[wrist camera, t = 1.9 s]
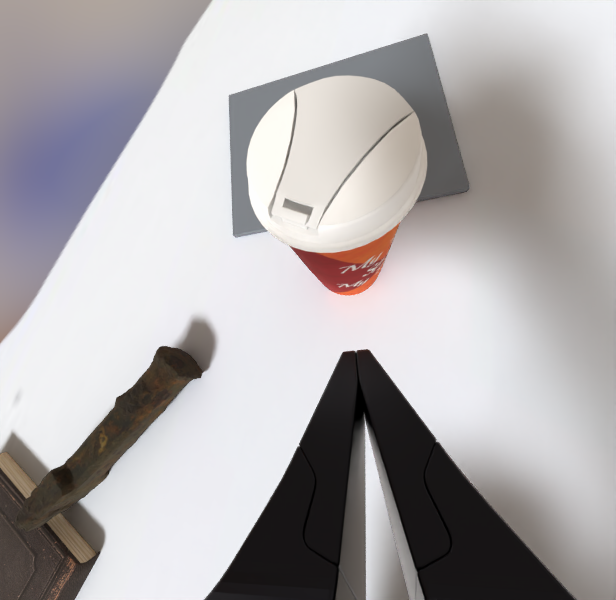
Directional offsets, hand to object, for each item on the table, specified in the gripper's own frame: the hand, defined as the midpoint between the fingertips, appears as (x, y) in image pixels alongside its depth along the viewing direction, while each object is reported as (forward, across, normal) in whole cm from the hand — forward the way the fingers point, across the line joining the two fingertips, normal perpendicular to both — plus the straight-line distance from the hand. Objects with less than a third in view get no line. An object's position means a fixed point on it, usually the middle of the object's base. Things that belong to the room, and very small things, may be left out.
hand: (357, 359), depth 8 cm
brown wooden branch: (+6, +22, +14) cm, 27 cm away
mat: (+25, 0, -6) cm, 26 cm away
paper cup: (+16, 0, +4) cm, 16 cm away
